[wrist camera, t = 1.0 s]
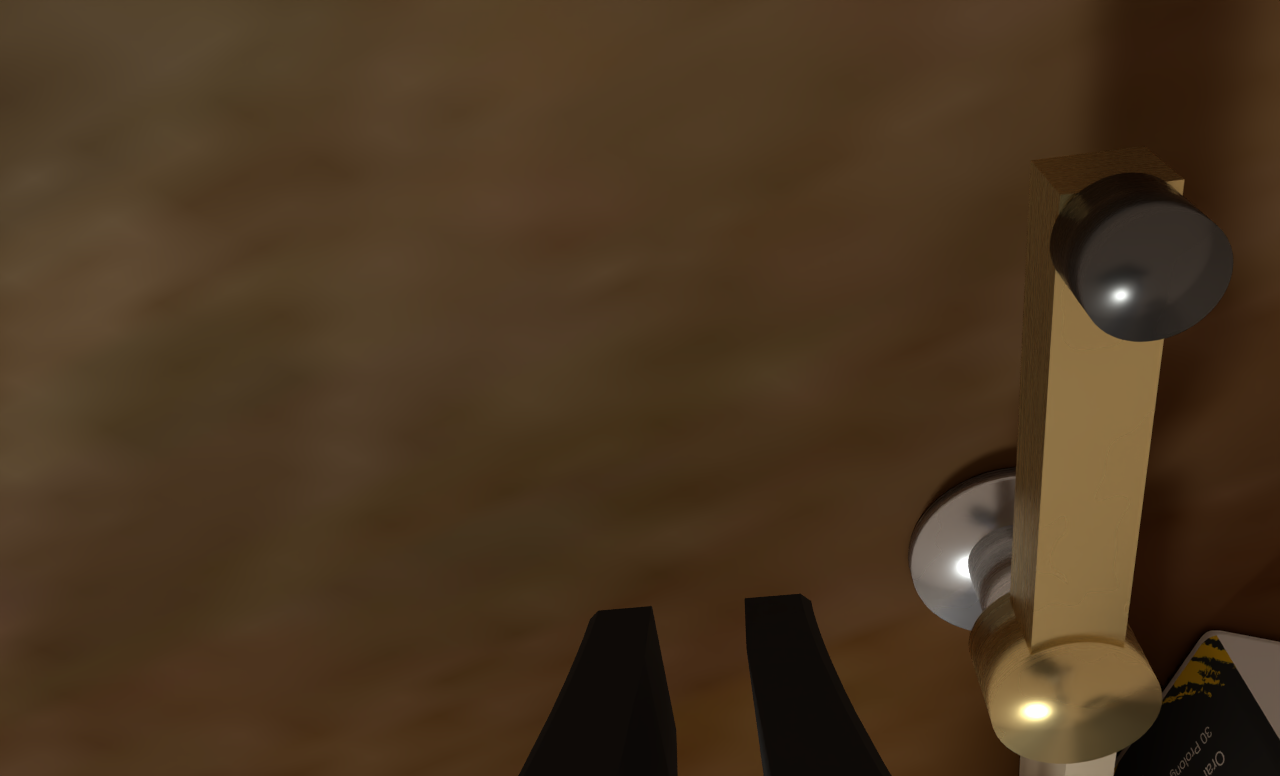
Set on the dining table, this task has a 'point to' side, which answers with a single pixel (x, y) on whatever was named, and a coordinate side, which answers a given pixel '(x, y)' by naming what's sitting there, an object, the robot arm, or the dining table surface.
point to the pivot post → (965, 548)
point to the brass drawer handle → (1089, 446)
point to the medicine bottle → (1215, 714)
